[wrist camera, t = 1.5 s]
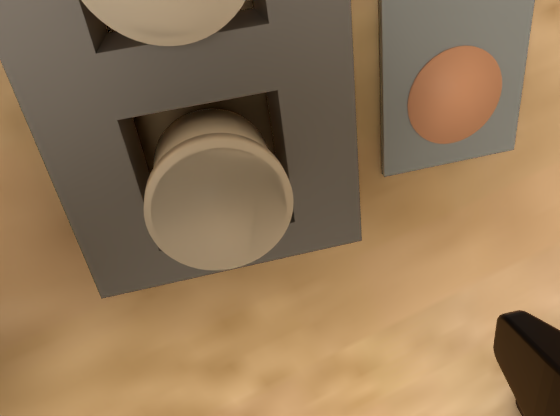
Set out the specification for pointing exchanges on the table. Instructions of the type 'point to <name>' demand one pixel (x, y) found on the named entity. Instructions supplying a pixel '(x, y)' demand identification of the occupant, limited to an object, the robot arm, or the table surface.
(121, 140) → the button panel
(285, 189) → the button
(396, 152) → the pattern card
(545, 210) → the table surface
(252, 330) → the table surface
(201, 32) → the middle button
